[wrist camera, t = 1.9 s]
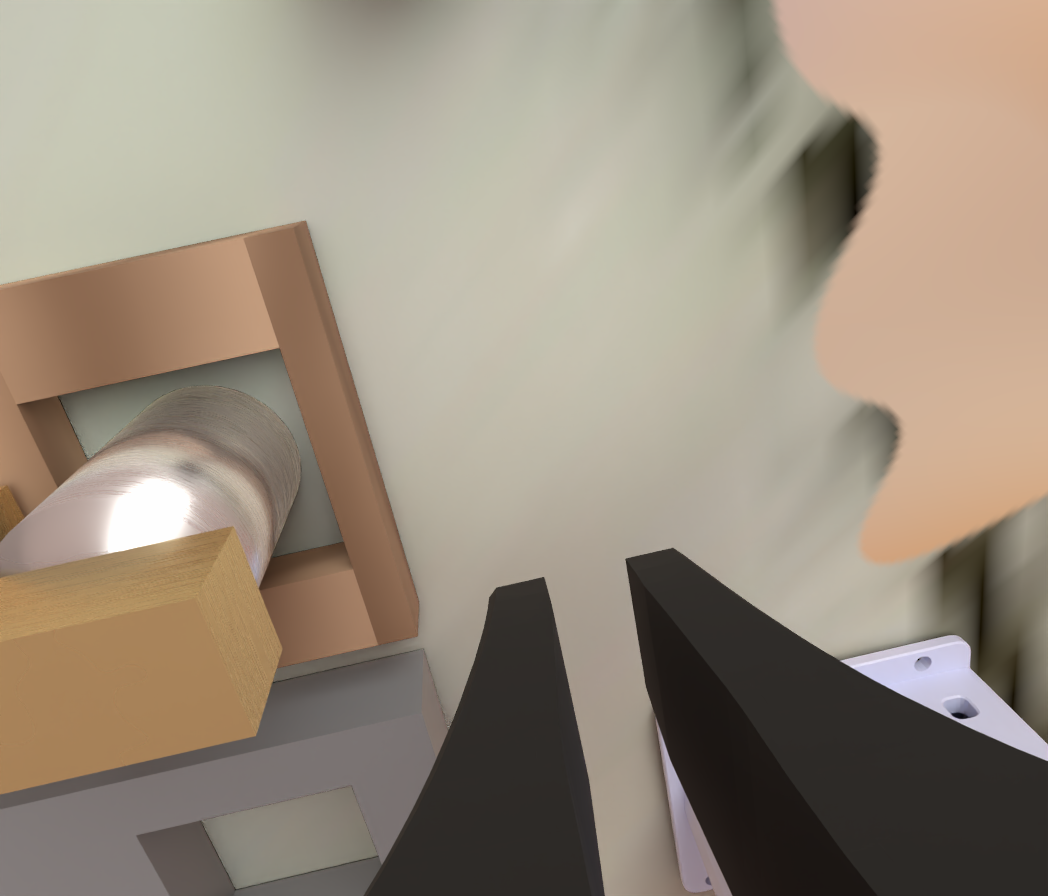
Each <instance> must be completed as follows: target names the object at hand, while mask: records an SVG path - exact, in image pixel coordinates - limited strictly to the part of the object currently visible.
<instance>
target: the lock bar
mask: <svg viewBox="0 0 1048 896" xmlns="http://www.w3.org/2000/svg"><path fill="white" fill-rule="evenodd" d="M23 519H24V516H23V514H22V512H21V510H20V508H19V507H18V505H17V503H16V501H15V499H14V497H13V495H12V493H11V491H10V489H9V487H8V485H4V486H0V542H1V541H2V540H3V539H4V537H5V536H6V535H7V534H8V533H9V532H10V531H11V530H12V529H13V528H14V527H15V526H16V525H17V524H19V523H20V522H21V521H22V520H23ZM281 652H282V646H281V644H280V641H279V639H278V636H277V633H276V631H275V628H274V626H273V623H272V621H271V618H270V616H269V613H268V611H267V608H266V606H265V603H264V601H263V598H262V596H261V593H260V591H259V588H258V585H257V583H256V580H255V578H254V575H253V573H252V570H251V568H250V565H249V563H248V560H247V558H246V555H245V553H244V550H243V548H242V545H241V543H240V540H239V538H238V535H237V532H236V530H235V527H234V526H231V527H226V528H222V529H217V530H213V531H208V532H204V533H199V534H195V535H190V536H186V537H181V538H177V539H172V540H168V541H163V542H159V543H154V544H150V545H145V546H141V547H136V548H132V549H127V550H123V551H118V552H113V553H109V554H104V555H100V556H95V557H91V558H86V559H82V560H77V561H73V562H68V563H64V564H59V565H55V566H50V567H46V568H41V569H37V570H32V571H28V572H23V573H19V574H14V575H10V576H5V577H1V578H0V795H1V794H5V793H9V792H14V791H18V790H22V789H27V788H31V787H36V786H40V785H44V784H49V783H53V782H57V781H62V780H66V779H70V778H75V777H79V776H84V775H88V774H92V773H97V772H101V771H105V770H110V769H114V768H118V767H123V766H127V765H132V764H136V763H140V762H145V761H149V760H153V759H158V758H162V757H166V756H171V755H175V754H180V753H184V752H188V751H193V750H197V749H201V748H206V747H210V746H214V745H219V744H223V743H228V742H232V741H236V740H241V739H245V738H249V737H254V736H256V734H257V731H258V728H259V724H260V721H261V718H262V714H263V711H264V708H265V705H266V701H267V698H268V695H269V692H270V688H271V685H272V682H273V678H274V675H275V672H276V669H277V665H278V662H279V659H280V656H281Z"/></svg>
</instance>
